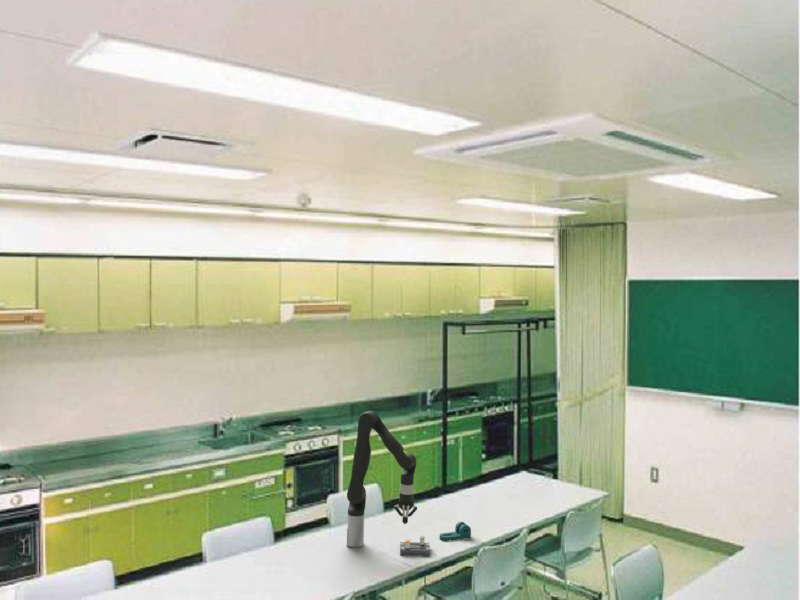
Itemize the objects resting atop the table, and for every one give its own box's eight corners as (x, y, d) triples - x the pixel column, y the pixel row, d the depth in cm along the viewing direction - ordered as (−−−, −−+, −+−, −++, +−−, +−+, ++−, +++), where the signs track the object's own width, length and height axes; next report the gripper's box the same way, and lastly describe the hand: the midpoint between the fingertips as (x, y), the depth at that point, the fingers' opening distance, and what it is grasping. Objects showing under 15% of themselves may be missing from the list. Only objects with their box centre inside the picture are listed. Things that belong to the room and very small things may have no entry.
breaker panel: (400, 555, 370) (400, 549, 370) (400, 547, 381) (400, 541, 381) (429, 556, 370) (430, 550, 370) (429, 548, 381) (429, 542, 381)
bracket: (465, 534, 405) (465, 521, 404) (470, 538, 398) (471, 524, 398) (437, 537, 398) (437, 524, 398) (442, 541, 392) (442, 528, 392)
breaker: (420, 544, 377) (420, 537, 377) (419, 542, 380) (420, 535, 380) (424, 544, 377) (424, 537, 377) (424, 542, 380) (424, 535, 380)
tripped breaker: (405, 548, 371) (405, 541, 371) (405, 546, 374) (405, 539, 374) (409, 548, 371) (410, 541, 371) (409, 546, 374) (410, 539, 374)
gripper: (394, 493, 368) (392, 525, 369) (419, 494, 369) (417, 526, 369) (394, 489, 376) (392, 520, 377) (418, 490, 376) (417, 521, 377)
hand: (405, 523), depth 373 cm, fingers closed
